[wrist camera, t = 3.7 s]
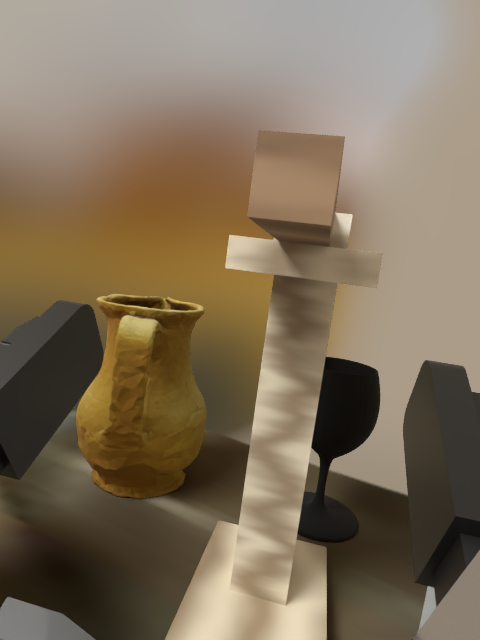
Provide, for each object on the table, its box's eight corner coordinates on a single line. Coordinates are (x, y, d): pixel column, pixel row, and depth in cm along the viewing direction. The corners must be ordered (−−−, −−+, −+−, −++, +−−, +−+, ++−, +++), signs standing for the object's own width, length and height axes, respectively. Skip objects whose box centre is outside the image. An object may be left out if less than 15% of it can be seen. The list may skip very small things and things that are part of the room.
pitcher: (225, 469, 62) (239, 301, 58) (137, 538, 46) (147, 313, 42) (138, 437, 70) (144, 288, 67) (37, 486, 54) (38, 293, 50)
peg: (367, 230, 14) (382, 139, 14) (213, 212, 15) (224, 128, 15) (343, 259, 36) (349, 223, 36) (279, 251, 37) (284, 216, 37)
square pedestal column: (151, 688, 30) (205, 232, 26) (216, 536, 47) (254, 250, 43) (321, 746, 28) (410, 256, 24) (323, 564, 45) (374, 265, 41)
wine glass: (330, 492, 61) (353, 357, 58) (375, 538, 51) (404, 378, 48) (264, 496, 57) (285, 352, 55) (298, 546, 48) (325, 375, 45)
